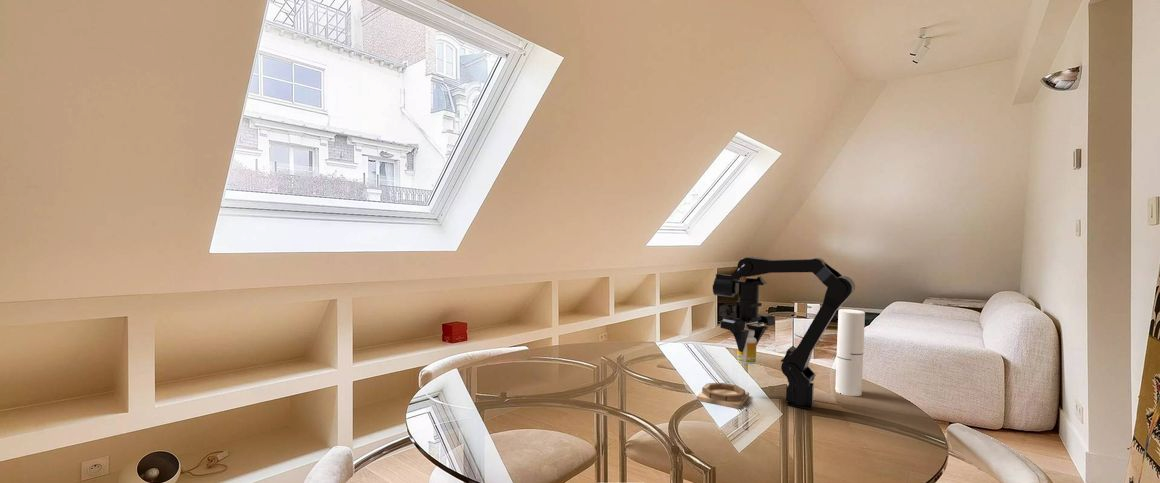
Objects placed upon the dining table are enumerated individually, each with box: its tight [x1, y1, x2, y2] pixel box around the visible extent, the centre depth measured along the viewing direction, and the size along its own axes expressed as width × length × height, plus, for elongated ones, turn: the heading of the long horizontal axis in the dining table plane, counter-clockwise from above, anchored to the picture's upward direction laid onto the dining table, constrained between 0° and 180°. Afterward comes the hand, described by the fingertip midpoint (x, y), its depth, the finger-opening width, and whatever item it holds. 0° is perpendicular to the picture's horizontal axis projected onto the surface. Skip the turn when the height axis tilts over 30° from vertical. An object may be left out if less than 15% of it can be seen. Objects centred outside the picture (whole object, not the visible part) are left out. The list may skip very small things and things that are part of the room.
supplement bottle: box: [736, 328, 757, 365], centre depth 155 cm, size 5×5×10 cm
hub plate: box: [696, 382, 750, 410], centre depth 150 cm, size 12×12×3 cm
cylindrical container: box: [834, 308, 866, 397], centre depth 157 cm, size 7×7×25 cm
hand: (746, 350), depth 155 cm, fingers closed on supplement bottle, 5 cm apart
